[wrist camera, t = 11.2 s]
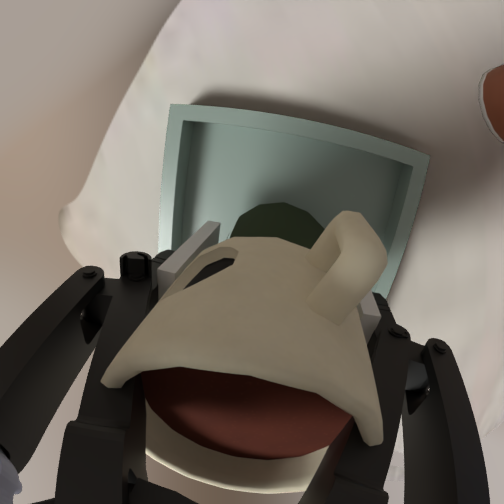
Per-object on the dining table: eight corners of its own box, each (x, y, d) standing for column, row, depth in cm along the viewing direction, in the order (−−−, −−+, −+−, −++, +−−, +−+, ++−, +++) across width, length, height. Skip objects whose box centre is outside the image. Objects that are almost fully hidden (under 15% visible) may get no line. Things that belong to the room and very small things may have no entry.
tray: (185, 107, 17) (170, 103, 15) (415, 153, 16) (430, 155, 14) (170, 304, 24) (158, 320, 21) (352, 343, 22) (355, 363, 20)
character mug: (274, 141, 15) (180, 144, 3) (377, 209, 15) (507, 369, 3) (192, 284, 19) (88, 440, 7) (279, 334, 20) (249, 511, 8)
